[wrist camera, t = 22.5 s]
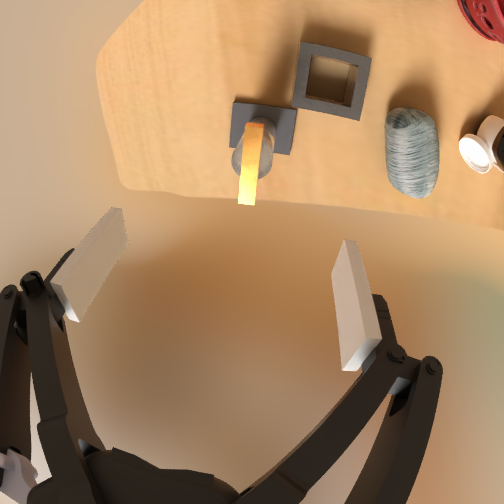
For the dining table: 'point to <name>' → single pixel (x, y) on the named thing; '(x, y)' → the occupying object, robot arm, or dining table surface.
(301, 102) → the block
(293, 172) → the dining table surface
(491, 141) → the spread jar
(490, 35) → the plant pot
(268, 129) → the chuck key
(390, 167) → the spool
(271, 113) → the rest mat
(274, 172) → the dining table surface
